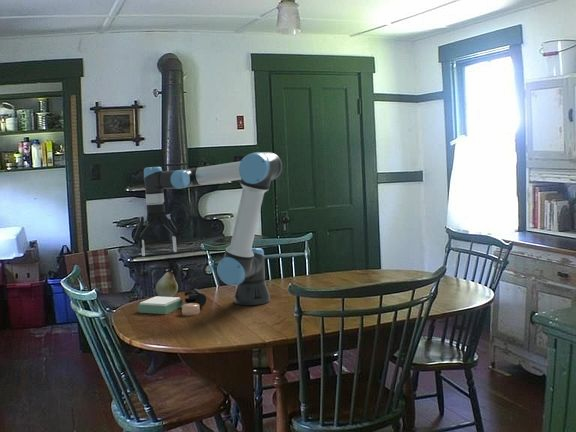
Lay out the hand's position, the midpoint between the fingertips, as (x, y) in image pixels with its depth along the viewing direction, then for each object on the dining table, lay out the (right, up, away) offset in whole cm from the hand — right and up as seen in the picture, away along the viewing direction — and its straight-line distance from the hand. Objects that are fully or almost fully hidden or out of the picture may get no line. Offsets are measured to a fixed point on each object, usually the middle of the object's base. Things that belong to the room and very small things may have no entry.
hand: (159, 253), depth 293 cm
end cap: (+16, -22, -4) cm, 27 cm away
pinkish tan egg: (+15, -23, -15) cm, 32 cm away
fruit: (0, -21, +17) cm, 27 cm away
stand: (+2, -23, -7) cm, 24 cm away
